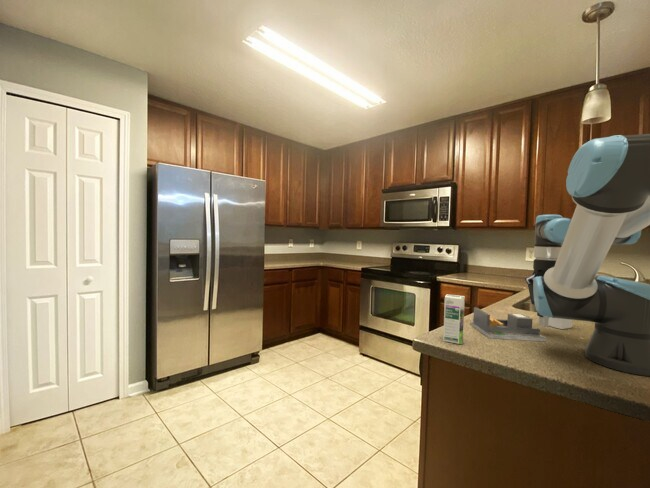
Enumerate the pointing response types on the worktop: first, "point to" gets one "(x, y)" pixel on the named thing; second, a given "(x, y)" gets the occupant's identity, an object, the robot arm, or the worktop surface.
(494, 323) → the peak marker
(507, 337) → the gauge bed
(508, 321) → the grey block
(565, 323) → the milk carton
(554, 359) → the worktop surface
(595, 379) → the worktop surface
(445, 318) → the syrup box
